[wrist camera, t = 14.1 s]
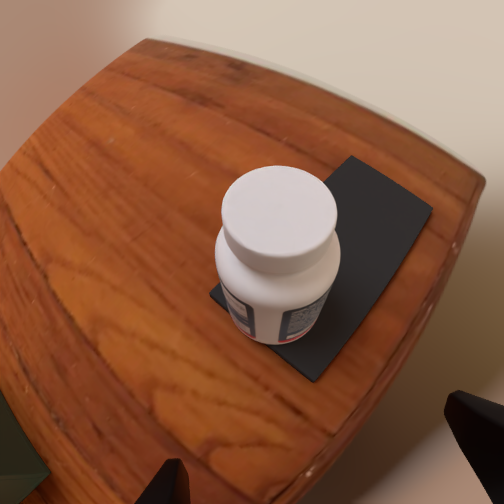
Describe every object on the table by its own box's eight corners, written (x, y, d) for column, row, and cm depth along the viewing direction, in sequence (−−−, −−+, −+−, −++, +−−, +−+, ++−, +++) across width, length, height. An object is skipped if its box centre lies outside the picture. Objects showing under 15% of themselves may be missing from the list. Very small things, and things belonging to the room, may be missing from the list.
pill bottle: (323, 269, 19) (357, 164, 12) (313, 352, 17) (357, 287, 9) (238, 256, 20) (224, 147, 12) (219, 337, 17) (184, 260, 10)
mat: (312, 383, 16) (314, 381, 16) (209, 296, 19) (208, 292, 19) (430, 212, 22) (433, 207, 22) (350, 159, 25) (351, 154, 24)
